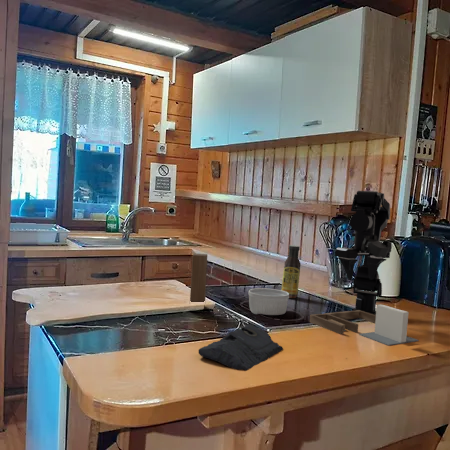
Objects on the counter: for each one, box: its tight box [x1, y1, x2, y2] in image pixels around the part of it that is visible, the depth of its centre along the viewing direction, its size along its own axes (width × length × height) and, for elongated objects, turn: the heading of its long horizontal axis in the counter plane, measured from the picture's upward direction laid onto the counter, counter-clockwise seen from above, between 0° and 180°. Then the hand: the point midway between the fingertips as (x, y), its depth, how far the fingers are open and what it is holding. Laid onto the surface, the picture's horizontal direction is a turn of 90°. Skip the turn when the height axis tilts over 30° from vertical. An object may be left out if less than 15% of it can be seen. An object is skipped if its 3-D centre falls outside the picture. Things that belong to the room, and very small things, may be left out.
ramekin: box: [248, 287, 290, 316], centre depth 150 cm, size 13×13×7 cm
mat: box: [358, 331, 420, 347], centre depth 127 cm, size 12×10×1 cm
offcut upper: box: [329, 319, 346, 330], centre depth 134 cm, size 3×6×2 cm, turn 26°
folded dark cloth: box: [198, 323, 284, 372], centre depth 110 cm, size 15×22×5 cm
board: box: [374, 304, 409, 342], centre depth 126 cm, size 2×9×8 cm, turn 30°
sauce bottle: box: [281, 244, 301, 299], centre depth 177 cm, size 6×6×20 cm
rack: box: [309, 310, 376, 335], centre depth 138 cm, size 20×13×3 cm, turn 120°
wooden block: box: [189, 252, 208, 302], centre depth 150 cm, size 9×4×18 cm, turn 0°
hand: (360, 280), depth 147 cm, fingers open, 9 cm apart
